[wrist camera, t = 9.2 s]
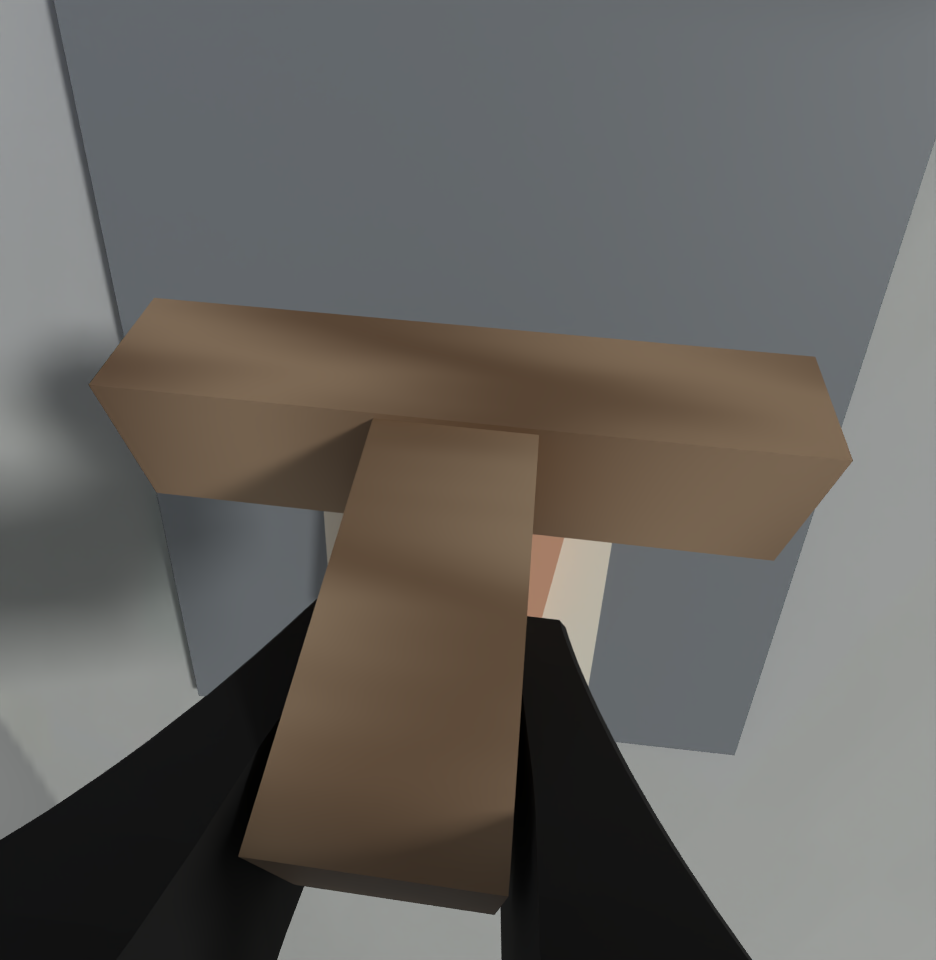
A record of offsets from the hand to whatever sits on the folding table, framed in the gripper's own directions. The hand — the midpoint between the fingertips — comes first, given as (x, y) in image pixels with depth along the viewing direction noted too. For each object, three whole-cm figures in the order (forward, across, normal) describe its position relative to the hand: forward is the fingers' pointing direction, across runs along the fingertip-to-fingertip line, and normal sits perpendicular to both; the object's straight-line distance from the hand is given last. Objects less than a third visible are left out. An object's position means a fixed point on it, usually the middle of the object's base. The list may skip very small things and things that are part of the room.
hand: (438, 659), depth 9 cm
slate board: (+10, 0, +1) cm, 10 cm away
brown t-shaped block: (+3, 0, -3) cm, 4 cm away
